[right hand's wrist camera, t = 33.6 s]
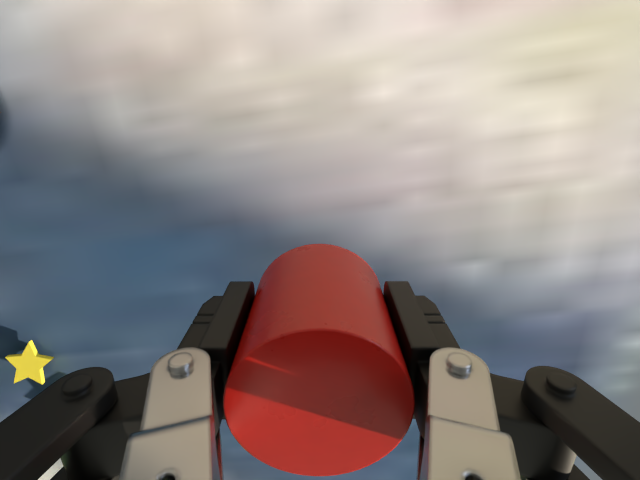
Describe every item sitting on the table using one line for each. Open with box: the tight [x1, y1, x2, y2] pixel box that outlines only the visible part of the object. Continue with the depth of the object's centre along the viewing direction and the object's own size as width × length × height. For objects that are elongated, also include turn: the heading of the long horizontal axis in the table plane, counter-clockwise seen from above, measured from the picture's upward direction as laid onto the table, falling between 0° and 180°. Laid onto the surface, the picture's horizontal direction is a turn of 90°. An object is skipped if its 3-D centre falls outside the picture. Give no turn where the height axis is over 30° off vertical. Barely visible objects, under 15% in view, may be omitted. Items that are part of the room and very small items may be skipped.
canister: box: [223, 244, 415, 476], centre depth 10 cm, size 4×4×5 cm
